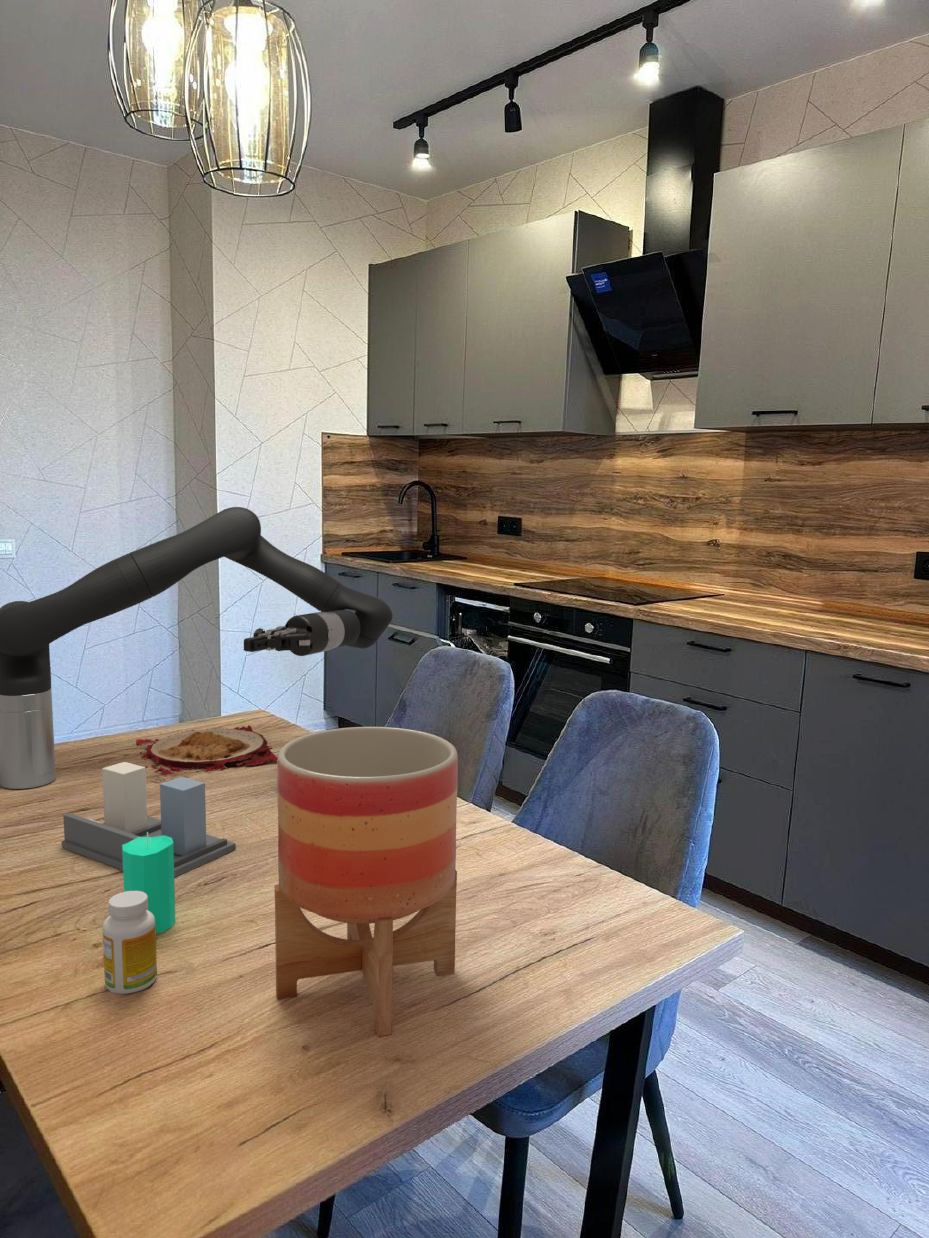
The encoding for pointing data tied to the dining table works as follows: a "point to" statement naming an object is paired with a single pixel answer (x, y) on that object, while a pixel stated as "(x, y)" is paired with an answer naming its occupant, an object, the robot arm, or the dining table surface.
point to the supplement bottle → (129, 943)
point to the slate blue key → (183, 814)
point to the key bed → (108, 841)
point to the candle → (152, 876)
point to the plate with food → (208, 749)
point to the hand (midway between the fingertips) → (246, 645)
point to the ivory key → (125, 797)
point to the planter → (366, 856)
